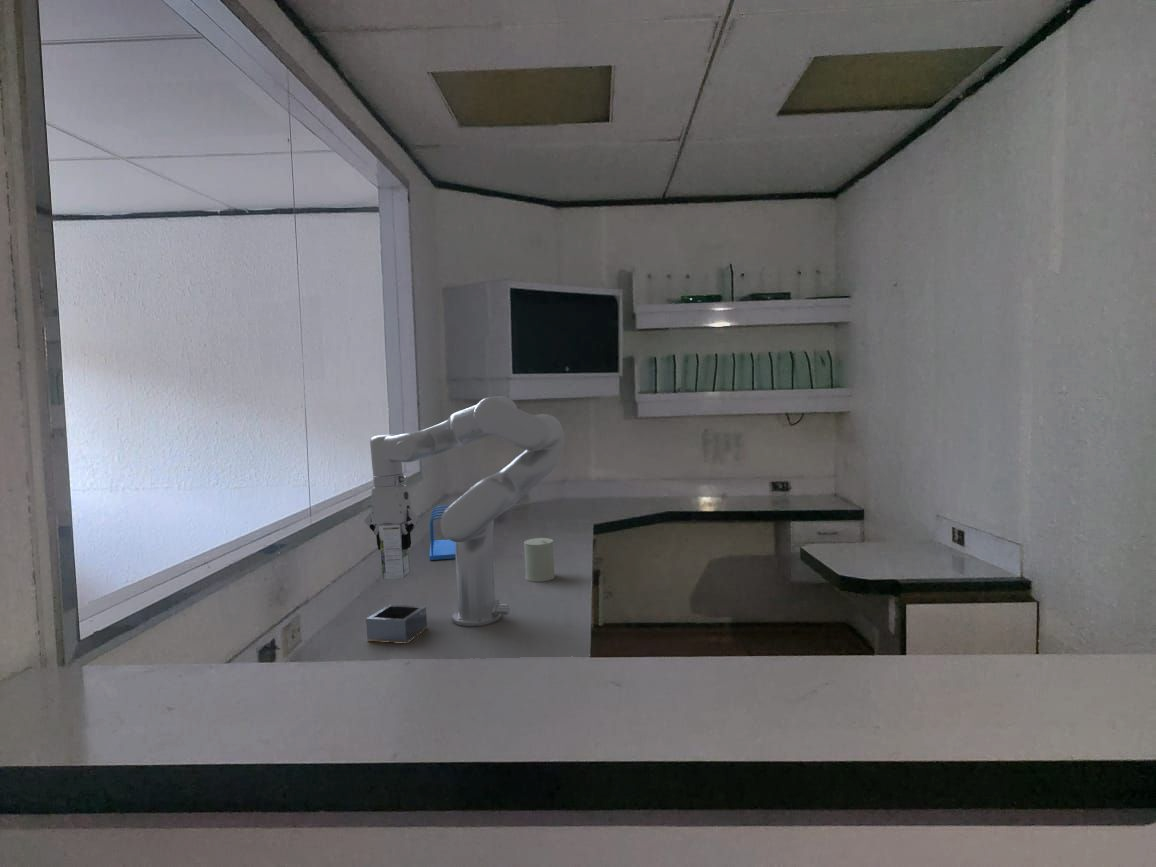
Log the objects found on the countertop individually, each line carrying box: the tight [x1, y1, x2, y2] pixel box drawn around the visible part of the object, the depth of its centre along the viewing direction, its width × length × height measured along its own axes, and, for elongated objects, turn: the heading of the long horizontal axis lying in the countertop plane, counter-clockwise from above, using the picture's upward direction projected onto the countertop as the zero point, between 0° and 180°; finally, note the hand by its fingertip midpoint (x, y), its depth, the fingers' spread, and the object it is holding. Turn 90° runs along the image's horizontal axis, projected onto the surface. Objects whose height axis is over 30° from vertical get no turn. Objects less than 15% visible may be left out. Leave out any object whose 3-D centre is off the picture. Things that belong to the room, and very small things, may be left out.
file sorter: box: [429, 505, 456, 561], centre depth 249 cm, size 25×17×15 cm
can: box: [523, 537, 556, 583], centre depth 210 cm, size 9×9×12 cm
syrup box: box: [379, 524, 411, 581], centre depth 179 cm, size 6×6×14 cm
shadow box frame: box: [365, 604, 428, 644], centre depth 165 cm, size 10×10×6 cm
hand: (394, 547), depth 179 cm, fingers closed on syrup box, 6 cm apart
